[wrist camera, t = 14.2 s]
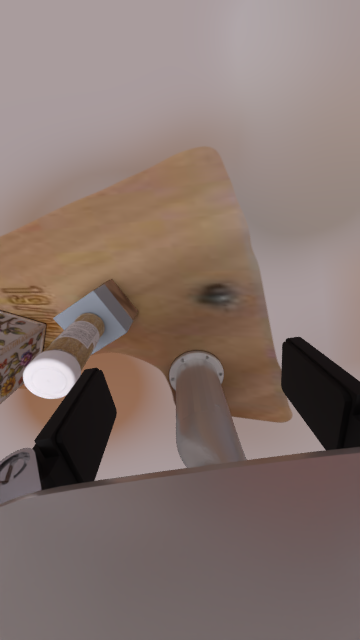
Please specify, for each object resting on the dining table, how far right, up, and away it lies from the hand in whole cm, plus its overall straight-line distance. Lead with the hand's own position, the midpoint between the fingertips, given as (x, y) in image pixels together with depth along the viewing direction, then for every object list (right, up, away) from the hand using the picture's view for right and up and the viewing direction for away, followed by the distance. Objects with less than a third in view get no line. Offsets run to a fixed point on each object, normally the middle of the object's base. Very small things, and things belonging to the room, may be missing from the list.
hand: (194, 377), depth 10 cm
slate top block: (-15, +4, +25) cm, 30 cm away
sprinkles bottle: (-15, +2, +21) cm, 25 cm away
